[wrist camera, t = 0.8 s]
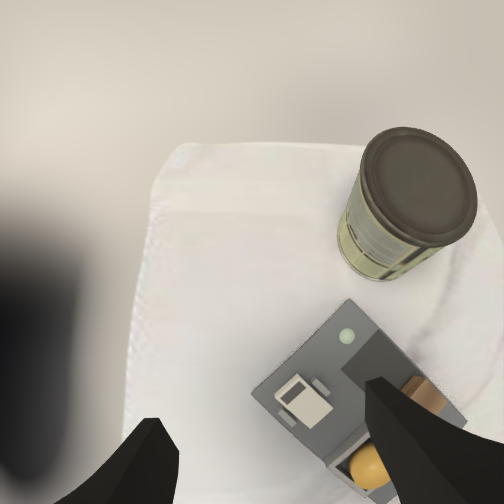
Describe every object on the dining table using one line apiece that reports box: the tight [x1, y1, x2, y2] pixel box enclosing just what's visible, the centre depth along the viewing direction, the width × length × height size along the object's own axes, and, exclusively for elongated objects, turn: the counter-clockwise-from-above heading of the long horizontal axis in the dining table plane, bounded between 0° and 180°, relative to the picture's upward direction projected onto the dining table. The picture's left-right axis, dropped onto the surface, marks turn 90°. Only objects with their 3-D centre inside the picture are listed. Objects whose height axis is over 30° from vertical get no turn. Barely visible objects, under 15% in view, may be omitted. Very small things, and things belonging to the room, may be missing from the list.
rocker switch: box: [274, 373, 333, 429], centre depth 26 cm, size 5×3×1 cm, turn 43°
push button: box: [348, 442, 391, 489], centre depth 21 cm, size 4×4×3 cm
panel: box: [251, 298, 468, 504], centre depth 25 cm, size 22×14×4 cm, turn 43°
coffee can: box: [337, 127, 477, 281], centre depth 26 cm, size 10×10×14 cm
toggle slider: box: [400, 375, 448, 415], centre depth 23 cm, size 4×4×3 cm
